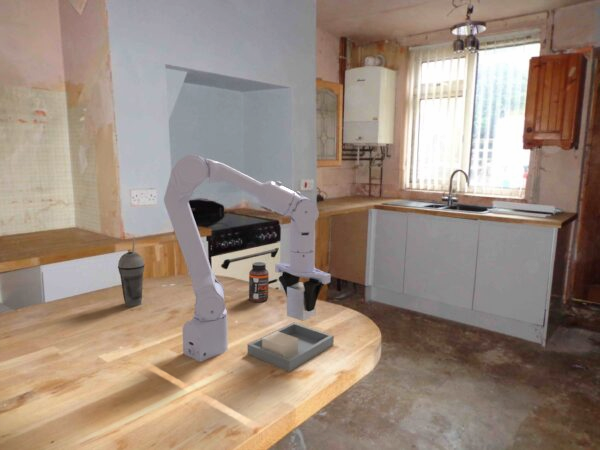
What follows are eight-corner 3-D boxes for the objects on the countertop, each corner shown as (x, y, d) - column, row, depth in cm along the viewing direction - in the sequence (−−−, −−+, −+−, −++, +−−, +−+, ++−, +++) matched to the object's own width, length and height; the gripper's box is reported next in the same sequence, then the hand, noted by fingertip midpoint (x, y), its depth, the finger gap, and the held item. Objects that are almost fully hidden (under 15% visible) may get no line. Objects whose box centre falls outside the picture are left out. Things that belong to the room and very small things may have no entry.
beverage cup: (119, 301, 126) (115, 235, 123) (145, 298, 130) (142, 234, 126) (120, 309, 120) (116, 240, 117) (147, 306, 123) (144, 238, 120)
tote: (289, 375, 86) (289, 361, 86) (247, 357, 94) (247, 344, 93) (333, 347, 99) (333, 335, 98) (293, 333, 106) (293, 322, 106)
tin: (303, 320, 95) (303, 291, 94) (286, 315, 98) (287, 286, 97) (315, 314, 99) (316, 286, 98) (299, 309, 102) (299, 281, 101)
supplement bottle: (259, 304, 126) (259, 267, 124) (244, 299, 130) (244, 263, 128) (272, 298, 131) (272, 263, 129) (258, 294, 134) (258, 260, 133)
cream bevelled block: (283, 364, 89) (283, 346, 89) (262, 355, 93) (262, 338, 92) (297, 355, 93) (298, 338, 92) (277, 347, 97) (277, 330, 96)
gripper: (338, 252, 95) (337, 309, 97) (288, 242, 103) (288, 295, 106) (320, 257, 89) (319, 319, 91) (269, 247, 98) (269, 303, 100)
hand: (301, 307), depth 98 cm, fingers closed on tin, 5 cm apart
